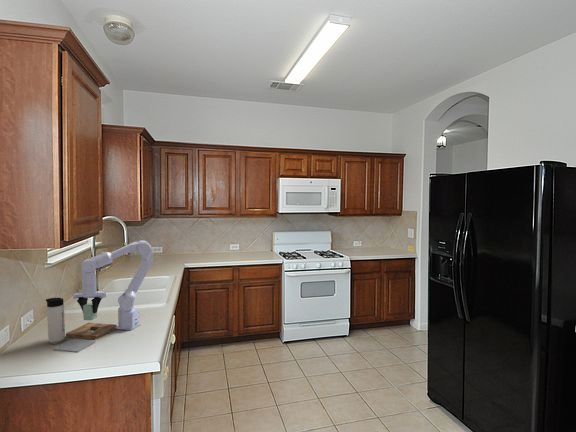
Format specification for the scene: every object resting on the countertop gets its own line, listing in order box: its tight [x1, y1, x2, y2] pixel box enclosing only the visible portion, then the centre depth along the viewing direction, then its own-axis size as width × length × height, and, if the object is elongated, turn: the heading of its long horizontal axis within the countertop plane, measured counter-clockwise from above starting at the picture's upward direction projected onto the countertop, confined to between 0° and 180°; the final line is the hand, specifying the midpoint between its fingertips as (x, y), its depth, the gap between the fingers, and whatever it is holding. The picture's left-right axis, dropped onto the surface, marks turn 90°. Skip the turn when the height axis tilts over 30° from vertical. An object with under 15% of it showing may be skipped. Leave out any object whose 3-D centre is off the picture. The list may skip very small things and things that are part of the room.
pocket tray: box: [65, 322, 118, 340], centre depth 165 cm, size 16×14×2 cm
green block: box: [82, 302, 98, 321], centre depth 163 cm, size 4×4×7 cm
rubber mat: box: [52, 338, 96, 353], centre depth 150 cm, size 12×10×1 cm
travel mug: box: [45, 297, 66, 345], centre depth 154 cm, size 6×7×20 cm
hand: (90, 312), depth 163 cm, fingers closed on green block, 4 cm apart
